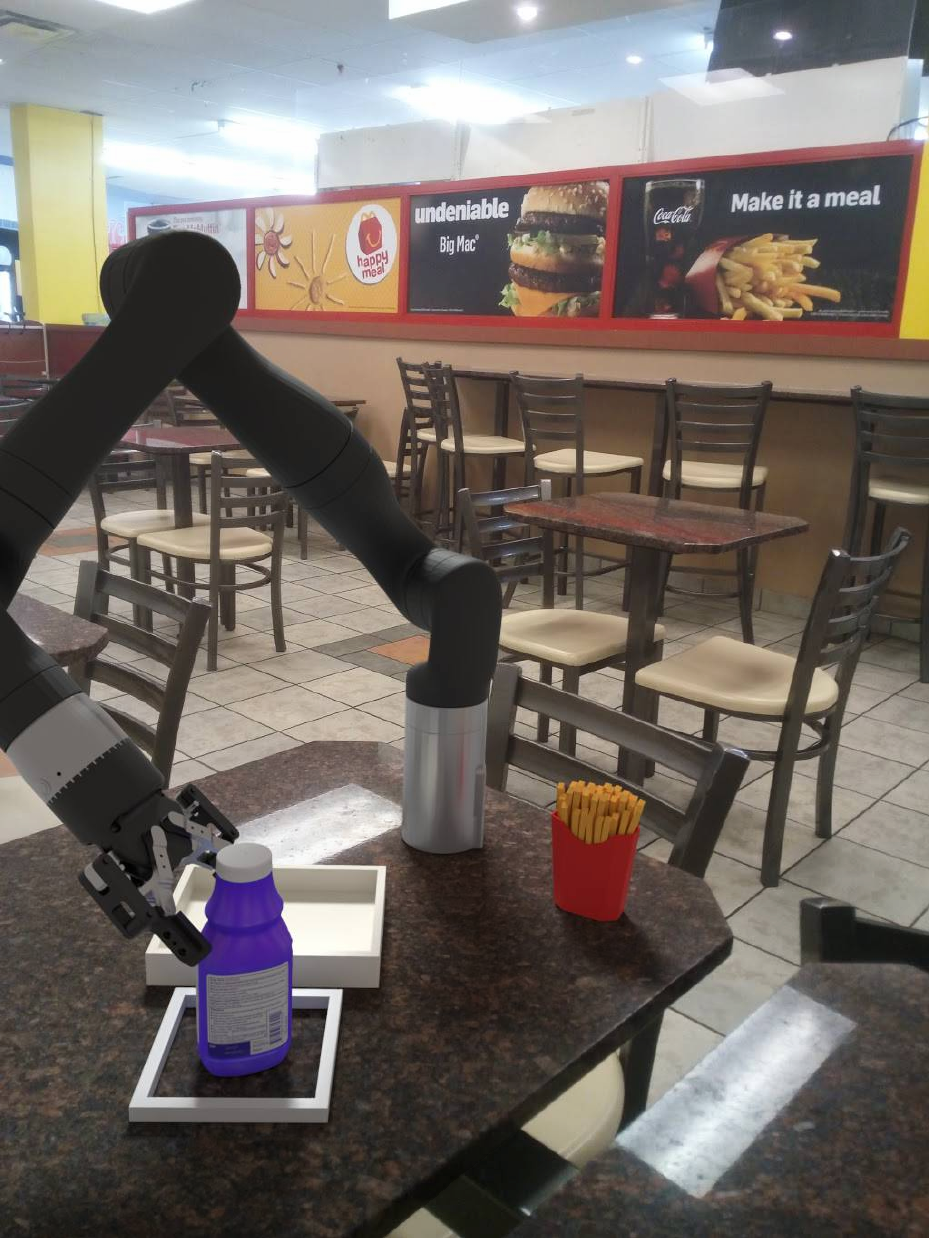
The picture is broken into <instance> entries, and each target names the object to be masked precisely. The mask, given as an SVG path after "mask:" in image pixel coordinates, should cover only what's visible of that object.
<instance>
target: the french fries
mask: <svg viewBox="0 0 929 1238" xmlns="http://www.w3.org/2000/svg"><path fill="white" fill-rule="evenodd" d="M557 783H558V784H557V785H556V802H557V803H556V805H557V807H556V809H555V810H554V811H553V812H552V813H551V814H550V816H551V817H550V819H551V841H552V842H551V844H552V845H551V846H552V875H553V876H552V877H553V903H555V904H556V906H557V907H559V908H560V909H561V910H563V911H565V912H568V913H572V914H575V915H578V916H582V917H585V918H588V919H593V920H596V921H600V922H609V921H610V922H611V921H618V919H619V918H620V917H621V915H622V914H623V912H624V910H625V906H626V900H627V895H628V891H629V886H630V882H631V881H630V880H631V876H632V872H633V866H634V861H635V857H636V851H637V846H638V843H639V842H638V841H639V837H640V832H641V826H639V822H640V819H641V817H642V814H643V811H644V808H645V805H646V804H647V803H646V800H644V799H642V798H639V797H638V795H634V794H633V793H632V792H631V791H630V790H625V789H624V790H623V791H622V789H623V787H622V786H620V785H618V784H616V786H613V783H609V782H605V784H604V785H599V784H598V785H596V783H594V782H591V781H589V782H588V783H587V785H586V781H583V780H578V781H573V780H572V781H571V783H570V784H569V786H568V788H567V791H566V789H565V788H566V787H565V786H566V784H565V782H557ZM638 798H639V800H638Z"/></svg>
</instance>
